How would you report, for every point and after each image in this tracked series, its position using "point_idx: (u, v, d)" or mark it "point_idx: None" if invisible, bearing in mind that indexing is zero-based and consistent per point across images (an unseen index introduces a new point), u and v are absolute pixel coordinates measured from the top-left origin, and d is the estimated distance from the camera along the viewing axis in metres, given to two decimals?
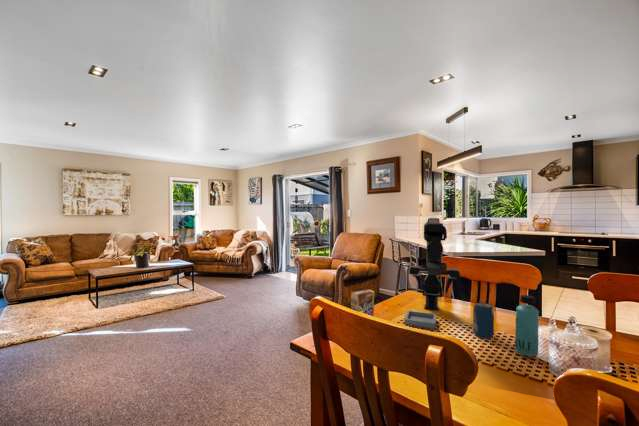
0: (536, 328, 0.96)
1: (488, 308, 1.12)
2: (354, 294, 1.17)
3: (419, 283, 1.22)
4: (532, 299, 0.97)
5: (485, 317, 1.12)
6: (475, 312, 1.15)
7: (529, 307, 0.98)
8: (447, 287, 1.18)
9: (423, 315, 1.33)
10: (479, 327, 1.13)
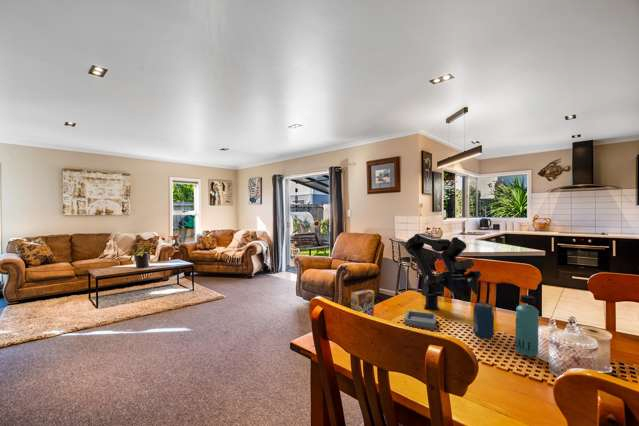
0: (536, 328, 0.96)
1: (488, 308, 1.12)
2: (354, 294, 1.17)
3: (453, 286, 1.24)
4: (532, 299, 0.97)
5: (485, 317, 1.12)
6: (475, 312, 1.15)
7: (529, 307, 0.98)
8: (476, 286, 1.26)
9: (423, 315, 1.33)
10: (479, 328, 1.13)
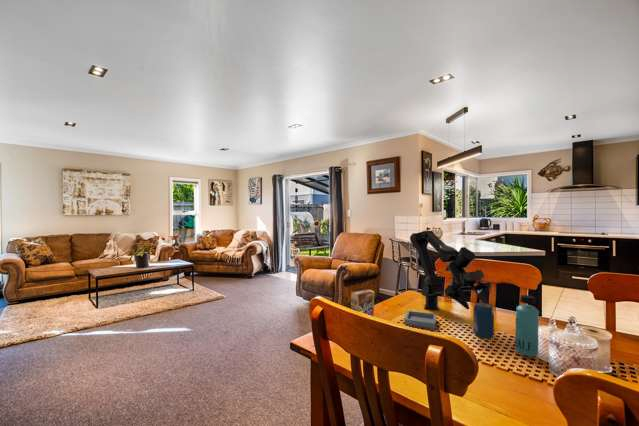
0: (536, 328, 0.96)
1: (488, 308, 1.12)
2: (354, 294, 1.17)
3: (463, 298, 1.18)
4: (532, 299, 0.97)
5: (485, 317, 1.12)
6: (475, 312, 1.15)
7: (529, 307, 0.98)
8: (486, 298, 1.20)
9: (423, 315, 1.33)
10: (479, 327, 1.13)
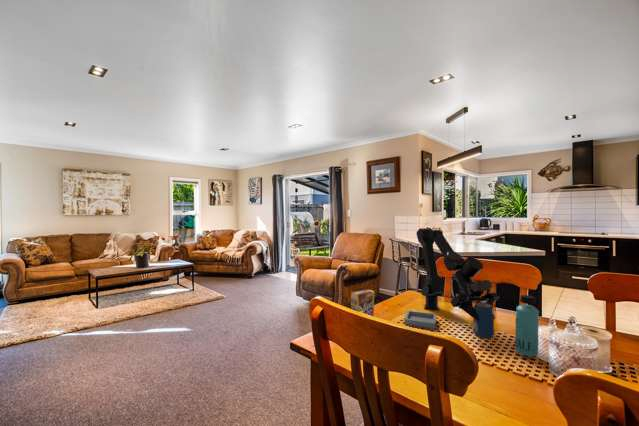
0: (536, 328, 0.96)
1: (488, 308, 1.12)
2: (354, 294, 1.17)
3: (473, 310, 1.15)
4: (532, 299, 0.97)
5: (485, 317, 1.12)
6: None
7: (529, 307, 0.98)
8: None
9: (423, 315, 1.33)
10: (479, 327, 1.13)
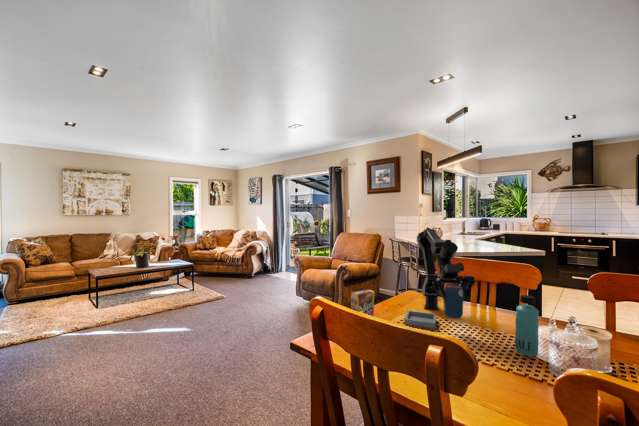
0: (536, 328, 0.96)
1: (455, 289, 1.16)
2: (354, 294, 1.17)
3: (442, 290, 1.20)
4: (532, 299, 0.97)
5: (451, 297, 1.16)
6: (444, 292, 1.20)
7: (529, 307, 0.98)
8: (463, 292, 1.19)
9: (423, 315, 1.33)
10: (446, 307, 1.18)
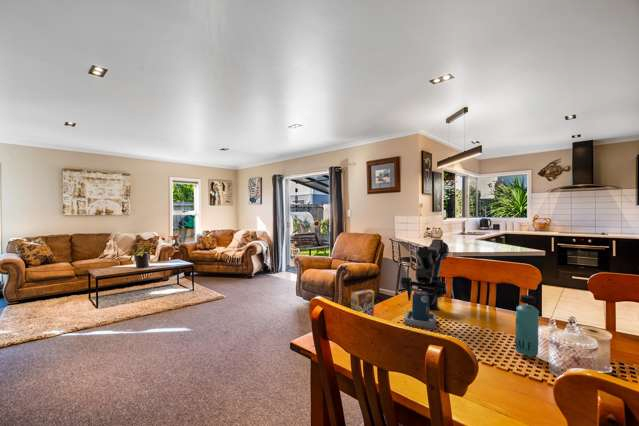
0: (536, 328, 0.96)
1: (418, 294, 1.26)
2: (354, 294, 1.17)
3: (408, 291, 1.31)
4: (532, 299, 0.97)
5: (415, 302, 1.27)
6: None
7: (529, 307, 0.98)
8: (433, 296, 1.26)
9: None
10: (412, 310, 1.29)
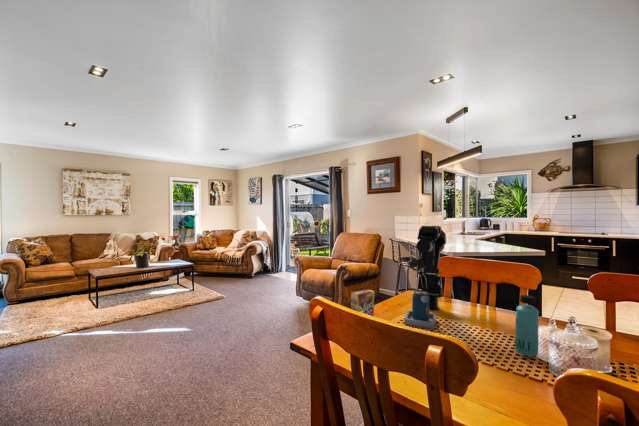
0: (536, 328, 0.96)
1: (418, 294, 1.26)
2: (354, 294, 1.17)
3: (421, 279, 1.40)
4: (532, 299, 0.97)
5: (415, 302, 1.27)
6: None
7: (529, 307, 0.98)
8: (426, 282, 1.30)
9: None
10: (412, 310, 1.29)
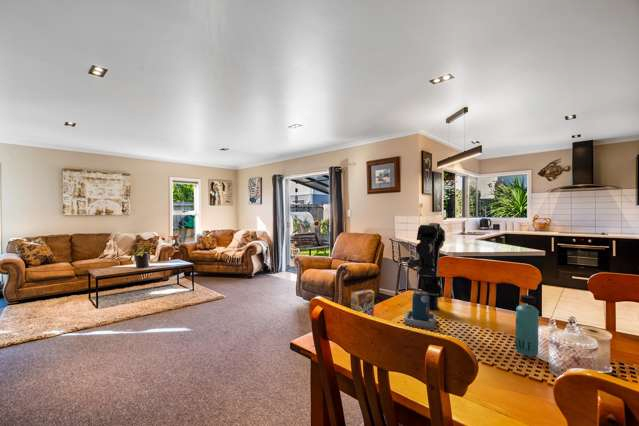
0: (536, 328, 0.96)
1: (418, 294, 1.26)
2: (354, 294, 1.17)
3: None
4: (532, 299, 0.97)
5: (415, 302, 1.27)
6: None
7: (529, 307, 0.98)
8: (423, 283, 1.31)
9: None
10: (412, 310, 1.29)
